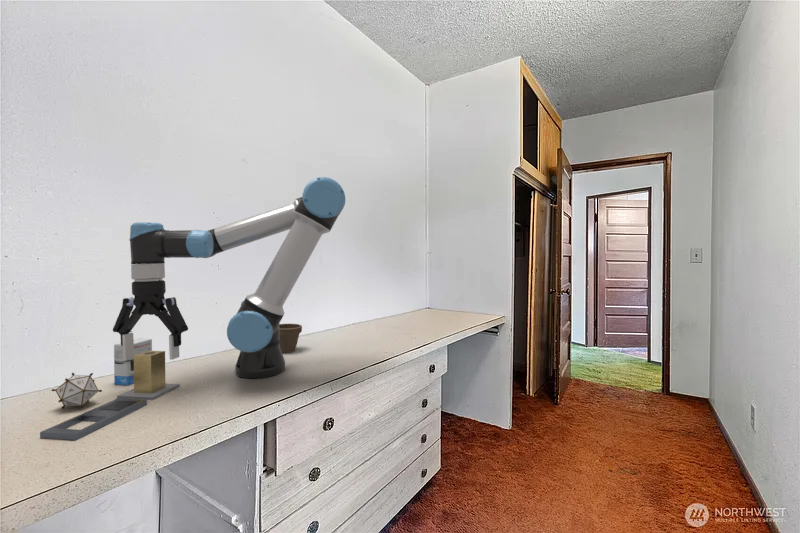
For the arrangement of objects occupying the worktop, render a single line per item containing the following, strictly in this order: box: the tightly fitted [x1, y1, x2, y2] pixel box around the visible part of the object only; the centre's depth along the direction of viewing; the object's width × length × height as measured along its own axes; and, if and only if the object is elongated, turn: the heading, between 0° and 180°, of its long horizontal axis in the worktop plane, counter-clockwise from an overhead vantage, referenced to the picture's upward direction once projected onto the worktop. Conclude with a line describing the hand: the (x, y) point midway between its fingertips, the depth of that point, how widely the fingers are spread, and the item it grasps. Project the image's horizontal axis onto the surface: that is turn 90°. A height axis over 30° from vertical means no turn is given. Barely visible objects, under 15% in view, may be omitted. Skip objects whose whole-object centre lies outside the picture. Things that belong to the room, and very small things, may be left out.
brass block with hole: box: [133, 350, 166, 393], centre depth 100 cm, size 5×5×10 cm
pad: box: [116, 382, 181, 401], centre depth 100 cm, size 10×10×1 cm
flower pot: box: [279, 323, 303, 354], centre depth 143 cm, size 12×11×10 cm
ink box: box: [113, 337, 153, 386], centre depth 109 cm, size 8×5×12 cm, turn 168°
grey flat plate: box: [39, 397, 148, 441], centre depth 83 cm, size 8×18×1 cm, turn 174°
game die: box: [50, 372, 103, 410], centre depth 90 cm, size 9×8×10 cm
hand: (151, 358), depth 100 cm, fingers open, 13 cm apart
